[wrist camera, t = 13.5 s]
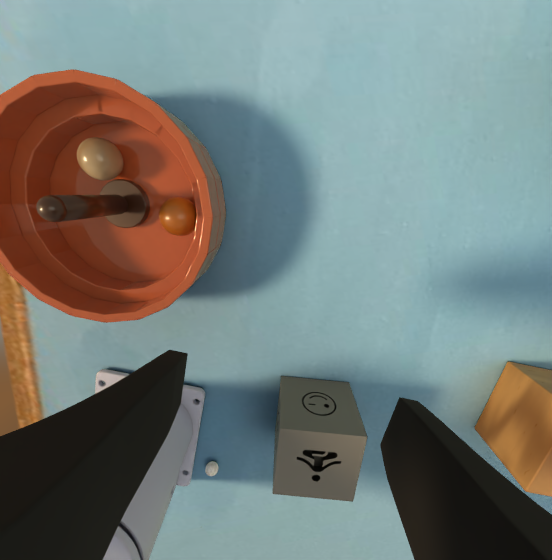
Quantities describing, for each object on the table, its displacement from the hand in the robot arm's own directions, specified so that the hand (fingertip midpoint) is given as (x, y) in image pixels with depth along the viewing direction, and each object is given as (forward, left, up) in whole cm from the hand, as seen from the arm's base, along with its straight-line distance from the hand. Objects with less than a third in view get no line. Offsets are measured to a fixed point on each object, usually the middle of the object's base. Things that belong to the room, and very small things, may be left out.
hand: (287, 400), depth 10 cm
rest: (-4, -19, -10) cm, 22 cm away
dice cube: (-8, -4, -11) cm, 14 cm away
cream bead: (+6, +13, -9) cm, 17 cm away
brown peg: (+4, +11, -10) cm, 15 cm away
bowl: (+4, +11, -10) cm, 15 cm away
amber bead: (+4, +7, -8) cm, 11 cm away
